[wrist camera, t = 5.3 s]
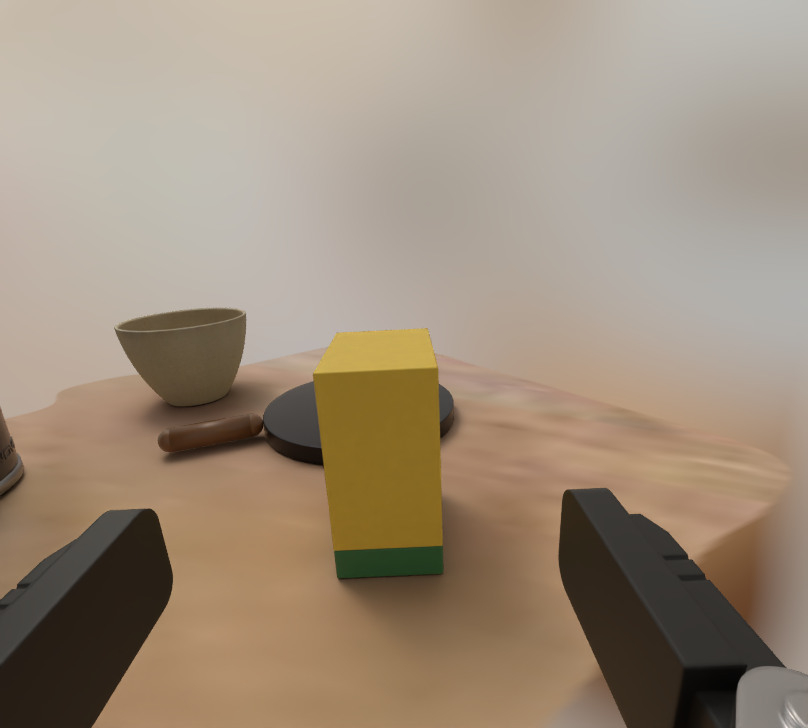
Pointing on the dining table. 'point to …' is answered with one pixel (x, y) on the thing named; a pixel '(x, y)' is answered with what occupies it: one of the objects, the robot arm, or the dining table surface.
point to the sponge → (382, 452)
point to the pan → (277, 426)
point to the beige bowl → (186, 352)
